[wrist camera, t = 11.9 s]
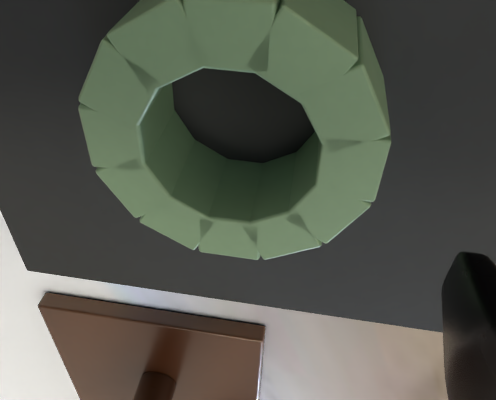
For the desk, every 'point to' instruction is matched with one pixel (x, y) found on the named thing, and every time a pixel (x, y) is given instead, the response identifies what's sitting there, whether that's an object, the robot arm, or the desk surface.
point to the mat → (260, 151)
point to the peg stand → (153, 352)
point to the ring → (215, 165)
